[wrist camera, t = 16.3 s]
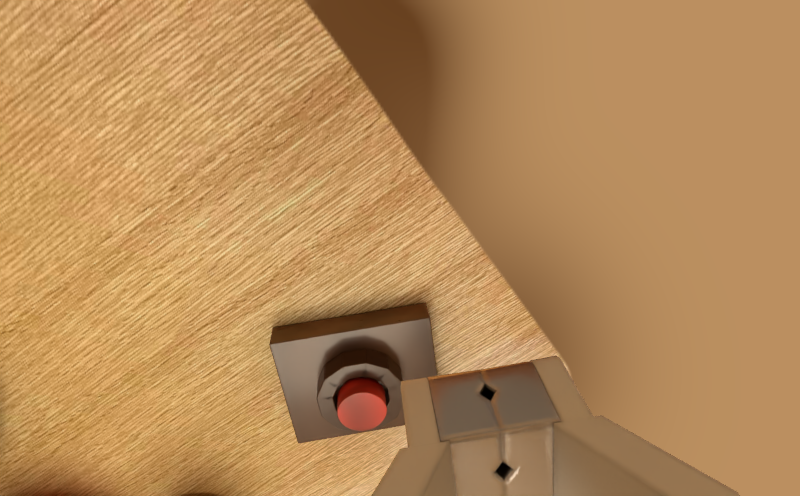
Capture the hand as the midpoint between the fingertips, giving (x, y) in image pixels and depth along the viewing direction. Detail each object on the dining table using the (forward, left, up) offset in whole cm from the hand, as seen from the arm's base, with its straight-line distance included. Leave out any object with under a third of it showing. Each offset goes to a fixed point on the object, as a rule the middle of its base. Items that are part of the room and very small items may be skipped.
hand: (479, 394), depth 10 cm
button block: (+5, +20, -27) cm, 34 cm away
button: (+5, +20, -24) cm, 31 cm away
